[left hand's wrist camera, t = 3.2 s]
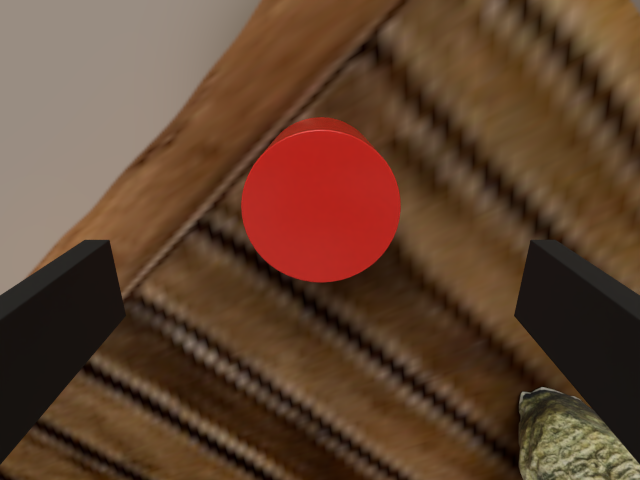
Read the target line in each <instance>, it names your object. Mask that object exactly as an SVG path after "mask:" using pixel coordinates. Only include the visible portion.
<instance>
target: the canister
mask: <svg viewBox="0 0 640 480" xmlns="http://www.w3.org/2000/svg"><path fill="white" fill-rule="evenodd" d="M241 206H242V218H243V224H244V227H245V230H246V233H247V235H248V237H249V239H250V242H251V243H252V245H253V246H254V248H255V249H256V251H257V252H258V253H259V254H260V256H261V257H262V258H263V259H264V260H265V261H266V262H267V263H269V264H270V265H271V266H273V267H274V268H275V269H277V270H278V271H280V272H282V273H284V274H286V275H288V276H290V277H293V278H296V279H299V280H303V281H309V282H333V281H338V280H343V279H346V278H349V277H352V276H354V275H356V274H358V273H360V272H362V271H363V270H365V269H367V268H368V267H369V266H371V265H372V264H373V263H374V262H376V261H377V260H378V259H379V258H380V257H381V256H382V254H383V253H384V252H385V251H386V249H387V248H388V246H389V245H390V243H391V241H392V239H393V237H394V235H395V233H396V230H397V227H398V223H399V219H400V210H401V206H400V194H399V189H398V185H397V182H396V179H395V177H394V175H393V172H392V170H391V169H390V167H389V166H388V164H387V162H386V161H385V160H384V159H383V158H382V156H381V155H380V154H379V153H378V152H377V151H376V150H375V148H374V147H373V146H372V145H371V144H370V143H369V142H368V141H367V140H366V138H365V137H364V136H363V135H362V134H361V133H360V132H359V131H357V130H356V129H355V128H353V127H352V126H350V125H349V124H347V123H344V122H342V121H339V120H336V119H332V118H323V117H317V118H309V119H305V120H302V121H299V122H297V123H295V124H293V125H291V126H289V127H288V128H287V129H285V130H284V131H283V132H282V133H281V134H280V135H279V136H277V138H276V139H275V140H274V141H273V142H272V143H271V145H270V146H269V147H268V148H267V149H266V151H265V152H264V153H263V154H262V155H261V156H260V158H259V159H258V160H257V162H256V163H255V164H254V166H253V167H252V169H251V171H250V173H249V175H248V177H247V180H246V182H245V185H244V189H243V193H242V203H241Z"/></svg>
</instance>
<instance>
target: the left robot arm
mask: <svg viewBox="0 0 640 480" xmlns="http://www.w3.org/2000/svg"><path fill="white" fill-rule="evenodd" d="M125 316H126V314H125V310H124V305H123V300H122V296H121V291H120V287H119V282H118V277H117V273H116V268H115V264H114V259H113V254H112V250H111V245H110V241H109V240H84V241H82V242H81V243H79V244H78V245H76V246H75V247H73V248H72V249H70V250H69V251H67V252H66V253H64V254H63V255H61V256H60V257H58V258H57V259H55V260H54V261H52V262H50V263H49V264H47V265H46V266H44V267H43V268H41V269H40V270H38V271H37V272H35V273H34V274H32V275H31V276H29V277H28V278H26V279H25V280H23V281H22V282H20V283H19V284H17V285H15V286H14V287H13V288H11V289H9V290H8V291H6V292H5V293H3V294H2V295H0V464H1V463H2V462H3V461H4V460H5V458H6V457H7V456H8V455H9V454H10V453H11V451H12V450H13V449H14V448H15V447H16V445H17V444H18V443H19V442H20V441H21V439H22V438H23V437H24V436H25V435H26V434H27V432H28V431H29V430H30V429H31V428H32V426H33V425H34V424H35V423H36V422H37V420H38V419H39V418H40V417H41V416H42V415H43V413H44V412H45V411H46V410H47V409H48V407H49V406H50V405H51V404H52V403H53V402H54V400H55V399H56V398H57V397H58V396H59V394H60V393H61V392H62V391H63V390H64V388H65V387H66V386H67V385H68V384H69V383H70V381H71V380H72V379H73V378H74V377H75V375H76V374H77V373H78V372H79V371H80V369H81V368H82V367H83V366H84V365H85V364H86V362H87V361H88V360H89V359H90V358H91V356H92V355H93V354H94V353H95V352H96V350H97V349H98V348H99V347H100V346H101V345H102V343H103V342H104V341H105V340H106V339H107V337H108V336H109V335H110V334H111V333H112V332H113V330H114V329H115V328H116V327H117V326H118V324H119V323H120V322H121V321H122V320H123V318H124V317H125ZM514 316H515V317H516V318H517V320H518V321H519V322H520V323H521V324H522V326H523V327H524V328H525V329H526V330H527V332H528V333H529V334H530V335H531V336H532V337H533V339H534V340H535V341H536V342H537V343H538V345H539V346H540V347H541V348H542V349H543V350H544V352H545V353H546V354H547V355H548V356H549V358H550V359H551V360H552V361H553V362H554V364H555V365H556V366H557V367H558V368H559V369H560V371H561V372H562V373H563V374H564V375H565V377H566V378H567V379H568V380H569V381H570V383H571V384H572V385H573V386H574V387H575V388H576V390H577V391H578V392H579V393H580V394H581V396H582V397H583V398H584V399H585V400H586V402H587V403H588V404H589V405H590V406H591V407H592V409H593V410H594V411H595V412H596V413H597V415H598V416H599V417H600V418H601V419H602V420H603V422H604V423H605V424H606V425H607V426H608V428H609V429H610V430H611V431H612V432H613V434H614V435H615V436H616V437H617V438H618V439H619V441H620V442H621V443H622V444H623V445H624V447H625V448H626V449H627V450H628V451H629V453H630V454H631V455H632V456H633V457H634V458H635V460H636V461H637V462H638V463H639V464H640V295H638V294H637V293H635V292H634V291H632V290H631V289H629V288H628V287H626V286H625V285H623V284H621V283H620V282H618V281H617V280H615V279H614V278H612V277H611V276H609V275H608V274H606V273H605V272H603V271H602V270H600V269H599V268H597V267H596V266H594V265H593V264H591V263H590V262H588V261H586V260H585V259H583V258H582V257H580V256H579V255H577V254H576V253H574V252H573V251H571V250H570V249H568V248H567V247H565V246H564V245H562V244H561V243H559V242H558V241H556V240H531V241H530V245H529V250H528V254H527V259H526V264H525V268H524V273H523V277H522V282H521V287H520V291H519V296H518V300H517V305H516V310H515V314H514Z"/></svg>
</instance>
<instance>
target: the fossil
mask: <svg viewBox="0 0 640 480" xmlns="http://www.w3.org/2000/svg"><path fill="white" fill-rule="evenodd" d="M519 413H520V416H521V421H520V423H519V446H520V456H519V469H520V473H521V475H522V478H523V480H640V464H639V463H638V462H637V461H636V460H635V458H634V457H633V456H632V455H631V454H630V453H629V451H628V450H627V449H626V448H625V447H624V445H623V444H622V443H621V442H620V441H619V439H618V438H617V437H616V436H615V435H614V434H613V432H612V431H611V430H610V429H609V428H608V426H607V425H606V424H605V423H604V422H603V420H602V419H601V418H600V417H599V416H598V415H597V413H596V412H595V411H594V410H593V409H591V408H590V407H588V406H586V405H585V404H584V403H583V402H582V401H581V400H580V399H578V398H576V397H574V396H569V395H566V394H563V393H561V392H558V391H555V390H552V389H548V388H544V387H541V388H539V389H537V390H535V391H533V392H531V393H529V392H522V393H521V397H520V401H519Z"/></svg>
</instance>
